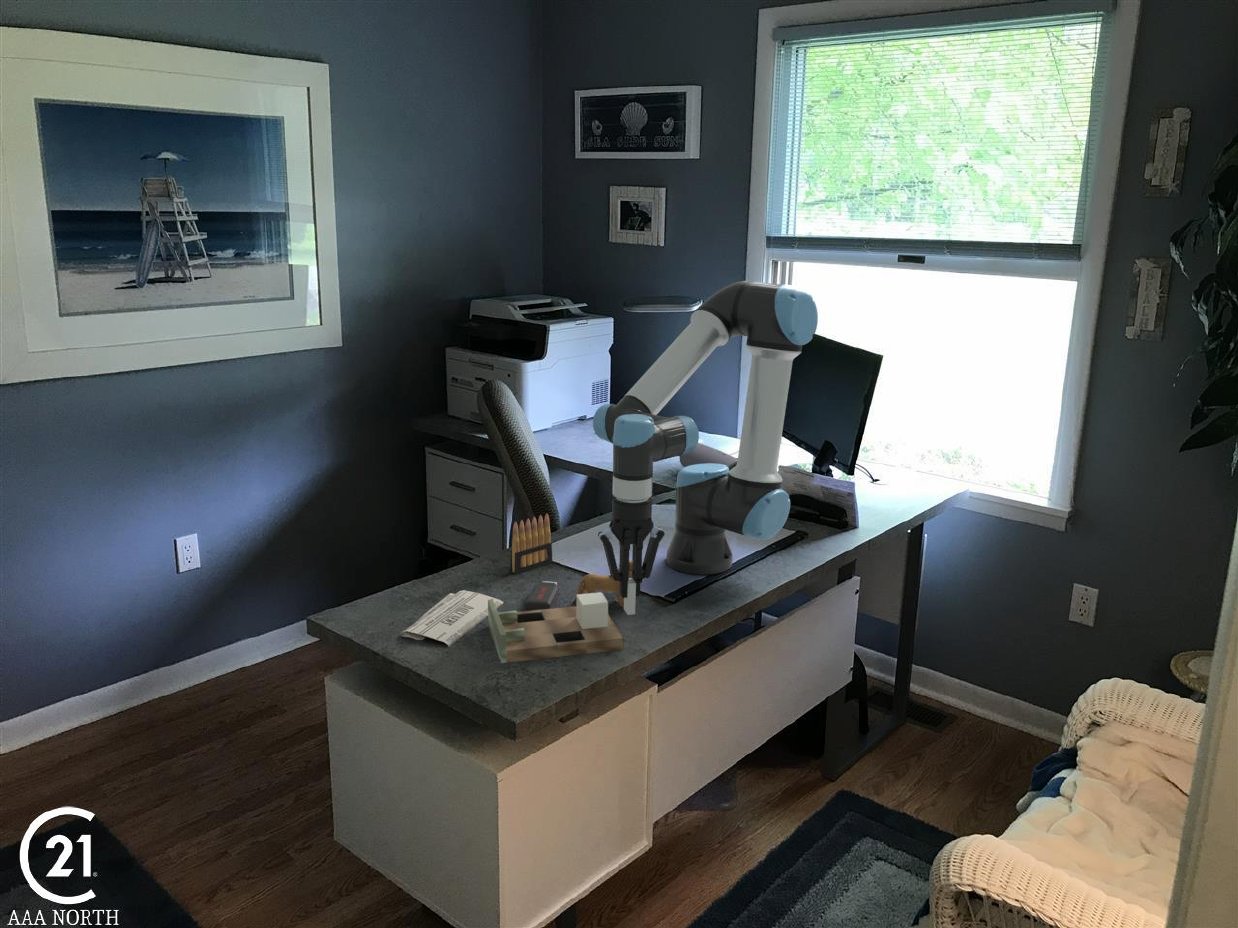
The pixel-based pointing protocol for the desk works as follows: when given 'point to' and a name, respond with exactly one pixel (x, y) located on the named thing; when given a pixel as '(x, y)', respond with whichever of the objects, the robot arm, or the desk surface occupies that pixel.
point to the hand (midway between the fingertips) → (629, 611)
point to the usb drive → (542, 596)
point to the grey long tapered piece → (707, 457)
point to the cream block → (592, 610)
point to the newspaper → (452, 617)
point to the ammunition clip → (531, 545)
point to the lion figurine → (602, 585)
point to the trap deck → (547, 634)
